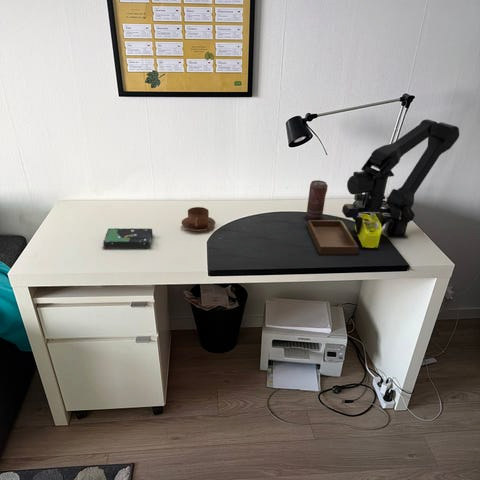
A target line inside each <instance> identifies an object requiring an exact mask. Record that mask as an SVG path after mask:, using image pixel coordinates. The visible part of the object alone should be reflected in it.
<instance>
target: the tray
mask: <svg viewBox="0 0 480 480" xmlns="http://www.w3.org/2000/svg"><path fill="white" fill-rule="evenodd" d="M306 228H307V230H308V232H309V234H310V238H311V239H312V241H313V243H314V245H315V248H316V249H317V252H318V255H320V256H321V255H323V256H325V255H334V256H335V255H341V256H342V255H345V256H346V255H347V256H348V255H349V256H350V255H352V256H353V255H358V252H359V248H360V247H359V245H358V243H357V242H356V240H355V239H354V237H353V236H352V234H351V232H350V231H349V229H348V228H347V226H346V224H345V223H344V222H343V220H341V219H321V220H307V225H306Z"/></svg>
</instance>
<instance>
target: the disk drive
mask: <svg viewBox="0 0 480 480" xmlns="http://www.w3.org/2000/svg"><path fill="white" fill-rule="evenodd" d="M153 233H154V232H153V228H122V227H121V228H108V229H107V231H106V233H105V236H104V239H103V248H104V249H150V248H151V245H152V240H153Z"/></svg>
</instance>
